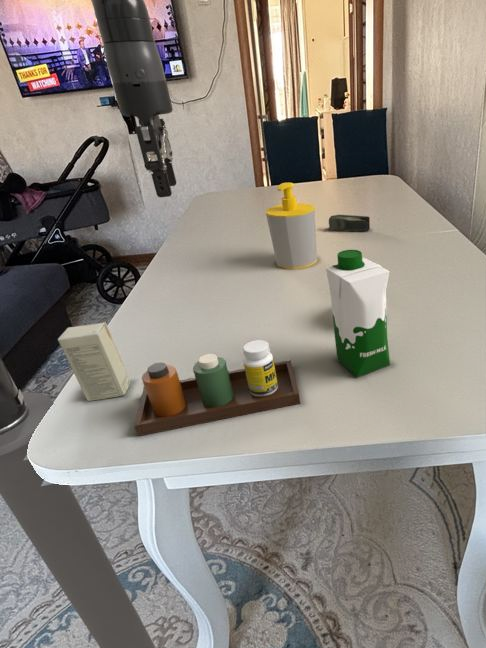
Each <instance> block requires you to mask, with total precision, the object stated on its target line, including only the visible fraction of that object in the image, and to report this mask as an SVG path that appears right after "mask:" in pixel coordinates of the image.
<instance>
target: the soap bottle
mask: <svg viewBox="0 0 486 648" xmlns="http://www.w3.org/2000/svg"><path fill="white" fill-rule="evenodd" d="M294 186H295V184H294V183H293V182H282V183H280V184H279V185H278V187H277V191H279V192H281V191H282V192H283V197H281V198H280V200H281V204H278V205H274V206H271V207H269V208H267V209H266V210H265V217H266V220H267V221H266V222H267V225H268V230H269V234H270V240H271V244H272V248H273V252H274V258H275V262H276V266H278V267H279V268H281V269H286V270H298V269H304V268H308V267H311V266H312V265H315V264H316V263H317V262H318V249H317V231H316V213H315V211H316V209H315V205H312V204H311V203H305V202H297V196H294V194H293V188H292V187H294Z"/></svg>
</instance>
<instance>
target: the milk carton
mask: <svg viewBox="0 0 486 648" xmlns="http://www.w3.org/2000/svg"><path fill="white" fill-rule="evenodd" d="M325 272H326V277H327V282H328V287H329V292H330V302H331V313H332V323H333V332H334V333H333V334H334V341H335V350H336V352H335V353H336V361H338V362H339V363H340V364H341V365H342V366H343V367H344V368H345V369H347V371H349V372H350V373H351V374H352V375H354V377H355V378H360V377H362V376H365V375H367V374H369V373H373V372H375V371H377V370H381V369H383V368H386V367H388V366H390V365H391V360H390V351H389V350H390V349H389V340H388V321H387V320H388V319H387V300H386V298H387V292H386V291H387V288H388V287H387V286H388V281H389V277H390V270H388V269H386V268H384V267H383V266H382V265H381V264H379V263H375V262H374V261H371V260H370V259H368V258H365V257H363V253H362V251H361V250H358V249H345V250H342V251H339V252H337V264H334V265H331V266H328V267H325Z"/></svg>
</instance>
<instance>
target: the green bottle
mask: <svg viewBox="0 0 486 648" xmlns="http://www.w3.org/2000/svg"><path fill="white" fill-rule="evenodd" d="M192 371H193V374H194V378H196V381H197V385H198V388H199V391H200V395H201V398H202V402H203V404H204V405H205V406H208V407H219V406H223V405H225V404H227V403H229V402H230V401H231V400H232V399H233V396H234V393H233V389H232V385H231V381H230V377H229V373H228V372H229V370H228V365H227V361H226V359H225V358H223V357H221V356H217V355H216V354H214V353H207V354H204V355H201V356H200V357H199V358H198V361H197V362H195V363H194V365H193V366H192Z"/></svg>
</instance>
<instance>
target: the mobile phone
mask: <svg viewBox="0 0 486 648" xmlns="http://www.w3.org/2000/svg"><path fill="white" fill-rule="evenodd" d="M370 222H371V219H370V216H367V215H352V214H335V215H331V216H330V217H329V218H328V227H325V228H324V230H325V231H337V232H338V231H340V232H368V231H370V229H371V224H370Z"/></svg>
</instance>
